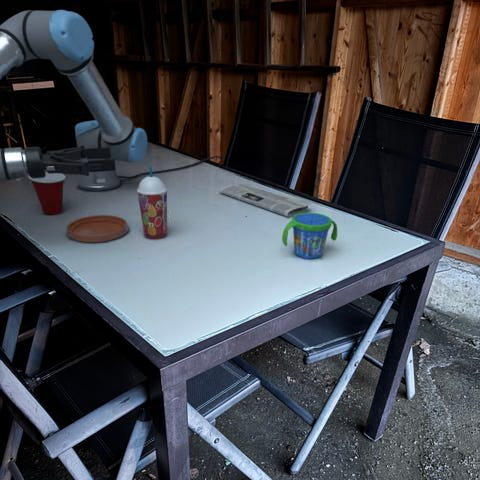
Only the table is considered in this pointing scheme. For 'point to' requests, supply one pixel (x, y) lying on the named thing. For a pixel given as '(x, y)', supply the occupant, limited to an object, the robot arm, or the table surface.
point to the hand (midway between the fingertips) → (112, 158)
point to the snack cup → (309, 233)
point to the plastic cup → (50, 192)
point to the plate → (97, 228)
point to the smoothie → (153, 206)
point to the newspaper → (266, 199)
